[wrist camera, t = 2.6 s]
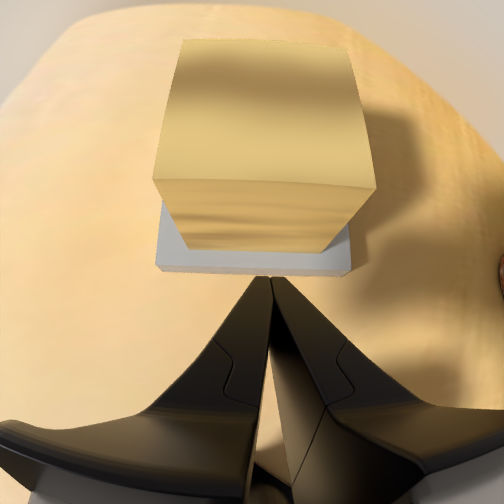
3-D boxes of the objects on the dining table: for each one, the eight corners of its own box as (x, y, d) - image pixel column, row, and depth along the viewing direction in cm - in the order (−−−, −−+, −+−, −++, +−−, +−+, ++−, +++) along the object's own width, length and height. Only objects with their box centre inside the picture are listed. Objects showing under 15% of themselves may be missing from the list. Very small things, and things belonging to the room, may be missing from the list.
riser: (341, 276, 21) (351, 270, 20) (162, 271, 21) (155, 264, 19) (332, 150, 24) (338, 135, 22) (177, 143, 24) (173, 128, 22)
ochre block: (320, 253, 20) (376, 188, 11) (188, 249, 19) (152, 178, 11) (313, 144, 22) (347, 49, 13) (199, 139, 22) (183, 39, 13)
